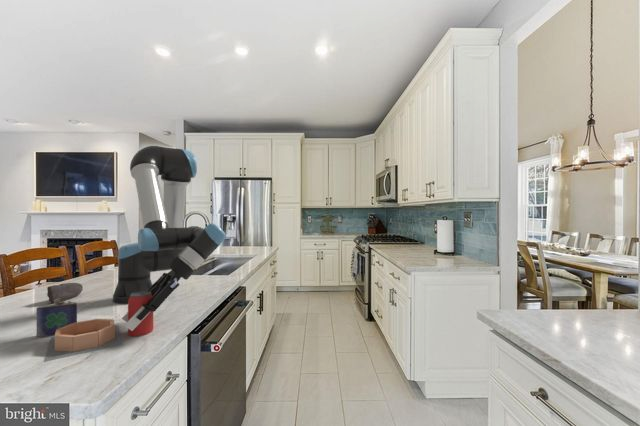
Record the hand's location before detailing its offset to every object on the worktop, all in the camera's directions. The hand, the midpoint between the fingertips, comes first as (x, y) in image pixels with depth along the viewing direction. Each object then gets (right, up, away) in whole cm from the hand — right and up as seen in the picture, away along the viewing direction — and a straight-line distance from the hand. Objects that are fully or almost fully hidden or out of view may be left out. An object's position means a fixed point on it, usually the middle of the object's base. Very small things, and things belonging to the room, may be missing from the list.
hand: (126, 324), depth 89 cm
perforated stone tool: (-50, -4, +38) cm, 62 cm away
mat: (-9, -3, -4) cm, 10 cm away
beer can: (+3, -4, +2) cm, 5 cm away
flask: (-21, -4, +1) cm, 22 cm away
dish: (-9, -3, -4) cm, 10 cm away
